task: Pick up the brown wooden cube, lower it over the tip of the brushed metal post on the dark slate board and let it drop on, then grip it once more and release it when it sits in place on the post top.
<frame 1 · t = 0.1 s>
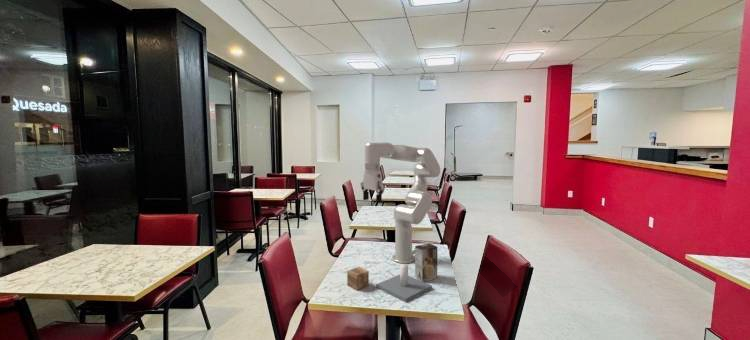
hand: (372, 201, 157), 37 cm above the table, tool pointing down, fingers open, 9 cm apart
coffee box: (425, 278, 152), on the table
brown wooden cube: (357, 285, 144), on the table
post stand: (403, 288, 141), on the table
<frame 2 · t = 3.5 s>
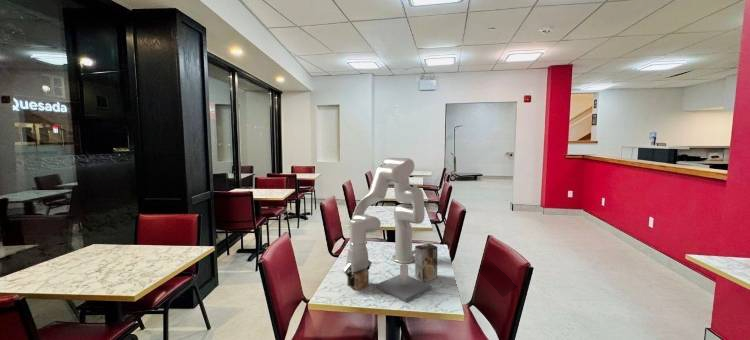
hand: (357, 282, 144), 1 cm above the table, tool pointing down, fingers closed on brown wooden cube, 7 cm apart
brown wooden cube: (358, 285, 144), on the table, touching gripper
everything else where it was.
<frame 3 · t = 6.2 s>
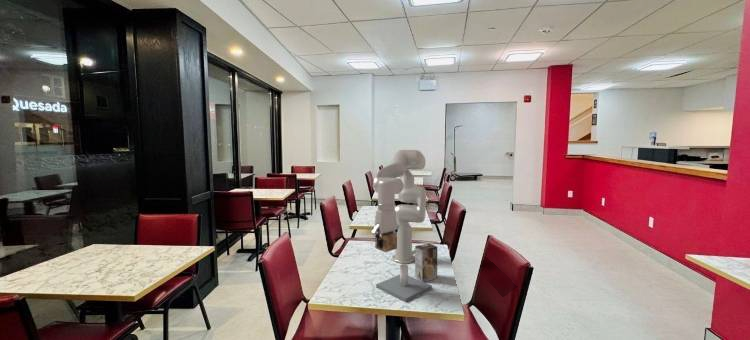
hand: (386, 245, 141), 19 cm above the table, tool pointing down, fingers closed on brown wooden cube, 7 cm apart
brown wooden cube: (386, 248, 141), point 18 cm above the table, touching gripper
everything else where it was.
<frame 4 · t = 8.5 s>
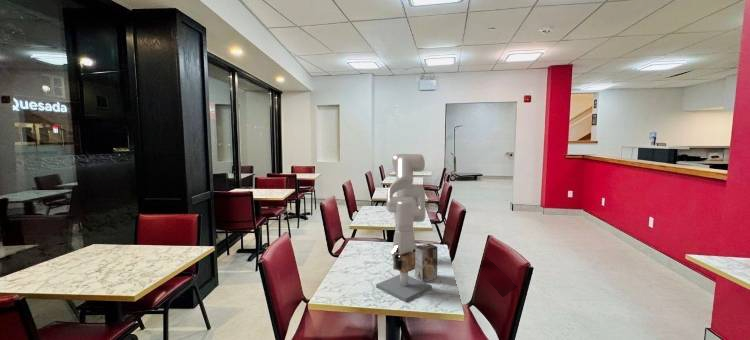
hand: (404, 265, 140), 10 cm above the table, tool pointing down, fingers closed on brown wooden cube, 7 cm apart
brown wooden cube: (404, 268, 141), point 9 cm above the table, touching gripper
everything else where it was.
when the fingers open (10 cm above the table, at t = 9.2 s): brown wooden cube drops 3 cm, resting on post stand.
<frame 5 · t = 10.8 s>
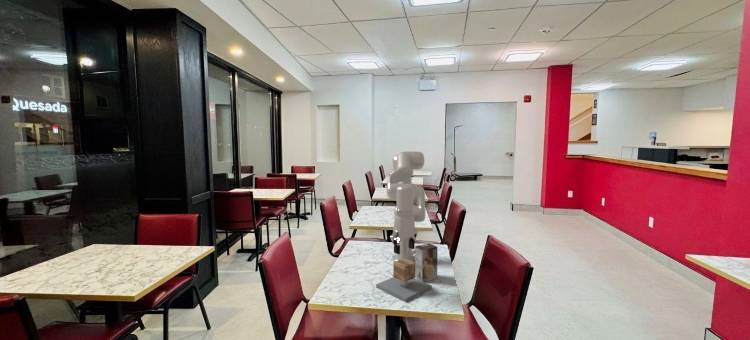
hand: (404, 250, 140), 17 cm above the table, tool pointing down, fingers open, 9 cm apart
brown wooden cube: (404, 277, 141), point 5 cm above the table, touching post stand
everything else where it was.
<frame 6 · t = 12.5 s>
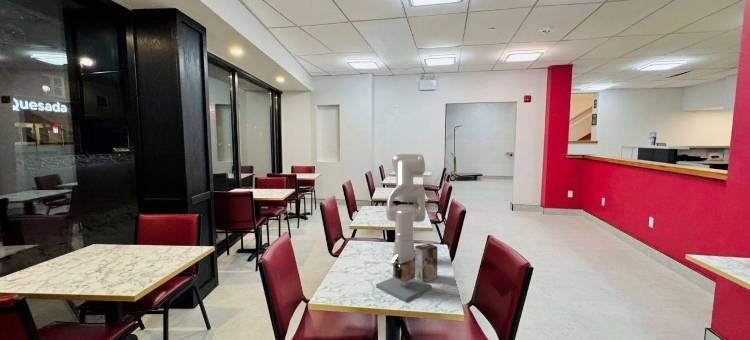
hand: (404, 274, 141), 6 cm above the table, tool pointing down, fingers closed on brown wooden cube, 7 cm apart
brown wooden cube: (404, 277, 141), point 5 cm above the table, touching gripper, post stand
everything else where it was.
when the fingers open (6 cm above the table, at t = 13.8 s): brown wooden cube stays where it is, resting on post stand.
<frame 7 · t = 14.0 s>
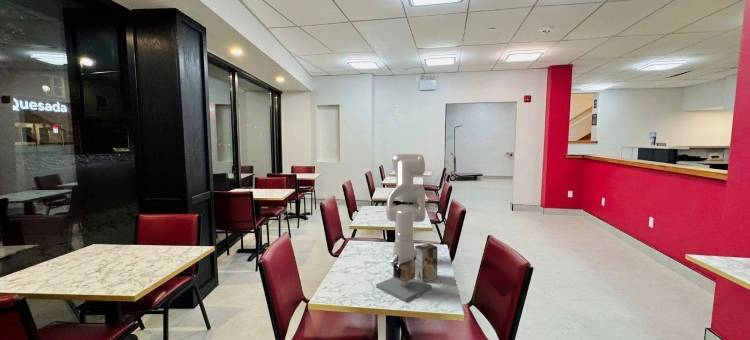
hand: (404, 274, 141), 7 cm above the table, tool pointing down, fingers open, 8 cm apart
brown wooden cube: (404, 277, 141), point 5 cm above the table, touching post stand
everything else where it was.
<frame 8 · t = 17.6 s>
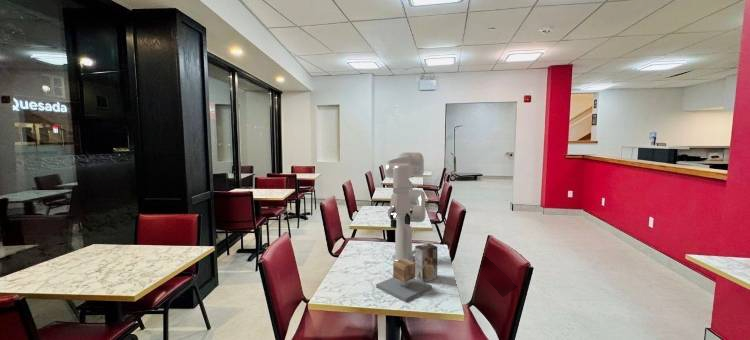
hand: (400, 225, 149), 26 cm above the table, tool pointing down, fingers open, 9 cm apart
nothing on the table moved.
at the end: brown wooden cube 0.0 cm off-centre on the post stand, point 5.0 cm above the post stand's base; brown wooden cube tilted 0°; the gripper is holding nothing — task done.
